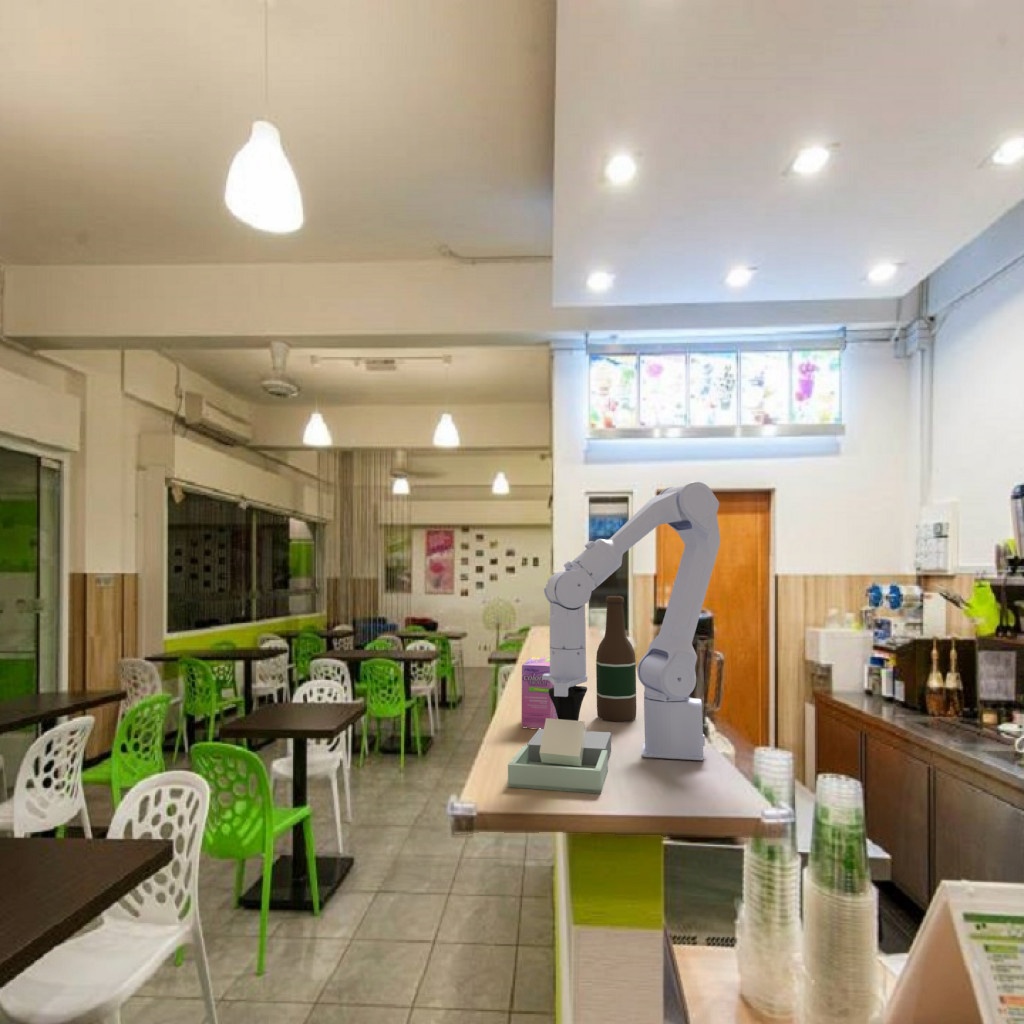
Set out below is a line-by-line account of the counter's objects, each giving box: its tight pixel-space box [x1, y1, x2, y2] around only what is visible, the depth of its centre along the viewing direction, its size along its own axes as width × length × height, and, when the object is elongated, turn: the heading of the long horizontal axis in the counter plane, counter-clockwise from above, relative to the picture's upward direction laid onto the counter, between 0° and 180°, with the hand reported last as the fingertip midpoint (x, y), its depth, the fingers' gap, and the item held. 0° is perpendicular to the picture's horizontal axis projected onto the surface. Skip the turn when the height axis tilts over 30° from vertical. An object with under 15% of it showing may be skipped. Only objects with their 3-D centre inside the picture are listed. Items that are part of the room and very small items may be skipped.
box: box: [520, 656, 558, 729], centre depth 132 cm, size 10×6×12 cm, turn 168°
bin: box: [507, 744, 609, 795], centre depth 98 cm, size 13×11×3 cm
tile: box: [539, 718, 587, 766], centre depth 103 cm, size 6×6×2 cm
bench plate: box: [526, 729, 612, 766], centre depth 109 cm, size 12×10×3 cm
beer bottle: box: [595, 595, 637, 723], centre depth 136 cm, size 8×8×24 cm
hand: (568, 734), depth 107 cm, fingers closed
